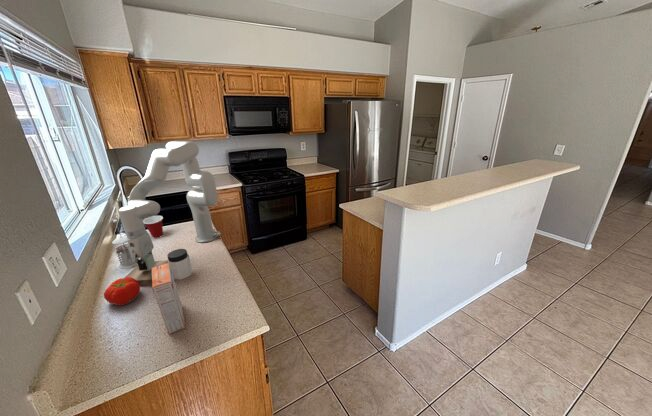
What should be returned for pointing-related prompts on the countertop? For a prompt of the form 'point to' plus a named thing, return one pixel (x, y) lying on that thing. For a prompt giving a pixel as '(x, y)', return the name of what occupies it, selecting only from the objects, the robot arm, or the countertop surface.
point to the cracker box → (167, 298)
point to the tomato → (122, 291)
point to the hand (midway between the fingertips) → (147, 265)
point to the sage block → (148, 262)
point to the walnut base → (144, 274)
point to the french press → (123, 251)
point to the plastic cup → (154, 225)
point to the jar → (179, 263)
